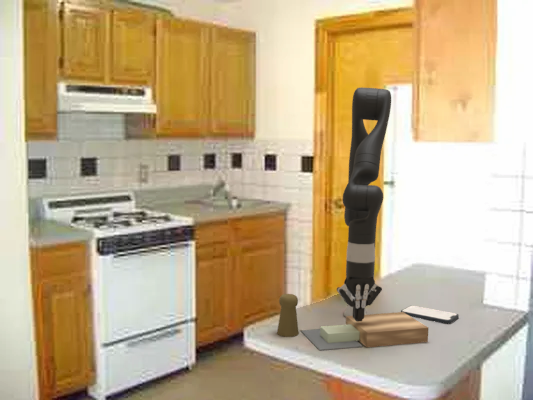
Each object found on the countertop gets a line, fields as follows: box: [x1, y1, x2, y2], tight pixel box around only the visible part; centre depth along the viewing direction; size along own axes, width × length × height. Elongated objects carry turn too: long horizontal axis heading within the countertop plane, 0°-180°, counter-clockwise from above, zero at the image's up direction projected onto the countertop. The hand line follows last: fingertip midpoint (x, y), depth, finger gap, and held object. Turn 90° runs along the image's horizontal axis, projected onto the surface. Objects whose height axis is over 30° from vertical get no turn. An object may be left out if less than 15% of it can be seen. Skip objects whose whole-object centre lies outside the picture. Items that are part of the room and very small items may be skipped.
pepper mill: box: [277, 293, 300, 338], centre depth 164 cm, size 6×6×11 cm
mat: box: [300, 328, 364, 352], centre depth 161 cm, size 15×12×1 cm
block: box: [319, 324, 360, 343], centre depth 161 cm, size 6×9×2 cm, turn 105°
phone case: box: [400, 305, 460, 325], centre depth 183 cm, size 9×2×16 cm
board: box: [345, 311, 429, 348], centre depth 164 cm, size 14×18×4 cm
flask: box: [343, 298, 368, 318], centre depth 181 cm, size 7×7×10 cm
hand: (358, 320), depth 162 cm, fingers closed
